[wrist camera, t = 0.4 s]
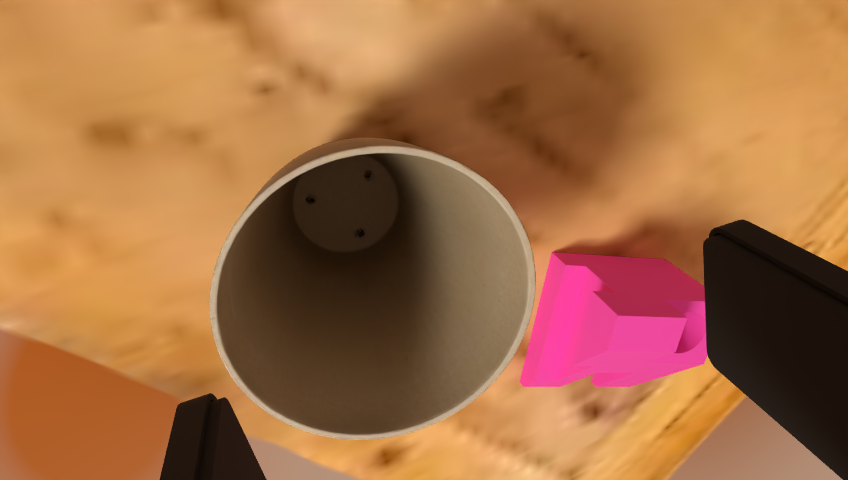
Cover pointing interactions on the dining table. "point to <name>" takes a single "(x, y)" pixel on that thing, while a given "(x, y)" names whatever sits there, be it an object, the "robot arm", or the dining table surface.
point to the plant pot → (371, 290)
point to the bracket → (614, 322)
